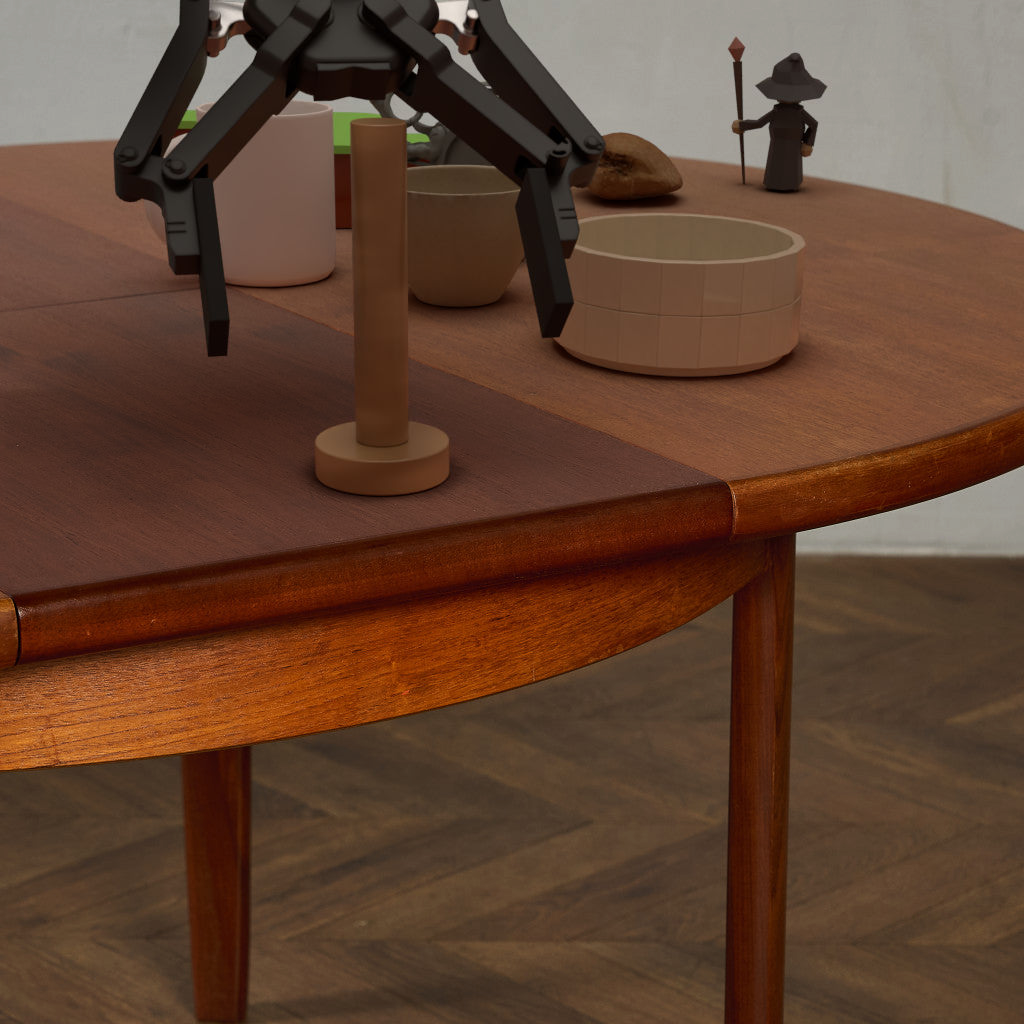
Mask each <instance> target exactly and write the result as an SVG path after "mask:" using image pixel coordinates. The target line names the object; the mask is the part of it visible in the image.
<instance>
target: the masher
mask: <svg viewBox="0 0 1024 1024" xmlns="http://www.w3.org/2000/svg"><path fill="white" fill-rule="evenodd" d="M401 119H402V118H399V119H394V118H361V119H355V120H352V121H351V122H350V150H351V205H352V228H351V236H352V237H351V249H352V250H351V252H352V259H351V260H352V303H353V305H352V306H353V307H352V308H353V310H352V311H353V313H352V314H353V361H354V366H353V367H354V413H355V414H354V415H355V417H354V418H355V421H350V422H345V423H340V424H337V425H334V426H332V427H328V428H327V429H325V430H323V431H321V432H320V433H319V434H317V436H316V437H315V440H314V463H315V464H314V467H315V471H314V472H315V476H316V478H317V480H318V481H319V482H320V483H321V484H323V485H324V486H326V487H329V488H331V489H333V490H336V491H340V492H344V493H349V494H353V495H360V496H361V495H363V496H380V497H381V496H399V495H407V494H414V493H419V492H422V491H423V492H424V491H427V490H429V489H432V488H435V487H437V486H440V485H441V484H442V483H444V482H445V481H446V480H447V479H448V477H449V476H450V439H449V436H448V434H446V432H445V431H442V430H441V429H440V428H437V427H435V426H432V425H429V424H426V423H421V422H417V421H411V420H409V418H410V417H409V414H410V413H409V411H410V410H409V405H410V404H409V284H408V242H407V133H408V128H407V123H406V121H404V120H405V119H403V120H401Z"/></svg>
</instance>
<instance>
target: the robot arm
mask: <svg viewBox="0 0 1024 1024" xmlns="http://www.w3.org/2000/svg"><path fill="white" fill-rule="evenodd" d="M178 15H179V17H178V19H179V20H178V26H177V28H176V30H175V32H174V34H173V35H172V37H171V40H170V41H169V43H168V45H167V47H166V49H165V51H164V53H163V54H162V57H161V59H160V60H159V62H158V65H157V66H156V68H155V70H154V72H153V74H152V76H151V78H150V80H149V81H148V83H147V84H146V85H147V86H146V87H145V89H144V90H143V93H142V94H141V97H140V99H139V101H138V103H137V104H136V107H135V109H134V110H133V113H132V114H131V117H130V118H129V120H128V122H127V124H126V126H125V128H124V129H123V132H122V134H121V135H120V137H119V138H118V141H117V143H116V145H115V147H114V149H113V154H112V155H113V178H114V179H113V180H114V191H115V195H116V197H117V198H118V199H119V200H121V201H123V202H125V203H126V202H127V203H136V202H137V203H138V201H140V200H144V199H145V200H148V201H151V202H154V203H155V204H157V205H158V206H159V207H160V208H161V210H162V216H163V218H164V224H165V233H166V242H167V245H166V251H167V259H168V266H169V268H170V269H171V271H172V273H173V275H174V276H193V275H194V276H195V275H198V282H199V283H198V285H199V291H200V302H201V308H202V317H203V318H202V319H203V326H204V327H203V328H204V334H205V335H204V336H205V343H206V344H205V345H206V351H207V358H215V357H228V350H229V338H230V337H229V336H230V322H231V321H230V320H231V318H230V311H229V303H228V295H227V294H228V293H227V287H226V286H227V285H226V283H225V277H224V269H223V261H222V253H221V244H220V236H219V228H218V220H217V212H216V204H215V195H214V187H213V182H214V181H215V180H216V179H217V177H218V176H219V175H220V174H221V173H222V172H223V171H224V169H225V168H226V167H227V166H228V165H229V164H230V163H231V162H232V160H233V159H234V158H235V157H236V156H237V155H238V154H239V152H240V151H241V150H242V149H243V148H244V147H245V146H246V145H247V143H248V142H249V141H250V140H251V139H252V138H253V137H254V135H255V134H256V133H257V132H258V131H259V130H260V129H261V128H262V126H263V125H264V124H265V123H266V122H267V121H268V120H269V118H270V117H271V116H272V115H276V116H277V115H278V114H280V113H281V111H282V110H283V109H284V108H285V107H286V106H287V105H288V104H289V102H290V101H291V100H294V98H295V97H296V96H297V95H298V94H299V92H301V93H303V94H305V95H309V96H312V99H313V100H312V101H313V102H333V101H338V100H341V99H346V98H354V99H358V100H364V101H369V100H385V98H386V94H389V93H392V92H393V93H394V95H395V96H396V97H397V98H398V99H400V100H401V101H402V102H404V103H405V104H406V105H407V106H408V107H410V108H411V109H412V110H413V111H415V112H419V113H422V112H427V113H426V114H429V116H431V117H433V118H434V119H435V120H436V121H437V122H440V123H441V124H443V125H444V126H445V127H446V128H448V129H449V130H450V131H451V132H452V133H454V134H455V135H456V136H457V137H459V138H460V139H461V140H462V141H464V142H465V143H466V144H467V145H468V146H470V147H471V148H472V149H473V150H475V151H476V152H477V153H478V154H480V155H481V156H482V157H483V158H484V159H486V160H487V161H488V162H489V163H491V164H492V165H493V166H494V167H496V168H497V169H498V170H499V171H501V172H502V173H503V174H504V175H505V176H507V177H508V178H509V179H510V180H512V181H513V182H514V183H515V184H517V185H518V186H519V187H520V188H521V190H520V193H519V196H518V199H517V202H516V205H515V210H516V214H517V219H518V224H519V229H520V234H521V239H522V244H523V248H524V253H525V258H524V259H525V262H526V267H527V272H528V273H527V274H528V276H529V277H528V278H529V282H530V287H531V291H532V296H533V301H534V306H535V311H536V317H537V320H538V324H539V325H538V326H539V330H540V335H541V339H553V338H557V337H560V335H561V333H562V330H563V328H564V326H565V323H566V321H567V319H568V316H569V314H570V312H571V309H572V307H573V305H574V300H573V295H572V290H571V286H570V281H569V277H568V272H567V267H566V263H565V259H570V257H571V255H572V252H573V250H574V248H575V245H576V243H577V240H578V236H579V231H580V228H579V223H578V220H579V219H578V214H577V211H576V206H575V205H576V204H575V202H574V197H573V192H572V188H573V187H574V188H577V189H585V188H588V186H589V185H590V184H591V182H592V180H593V177H594V175H595V173H596V170H597V167H598V165H599V162H600V160H601V157H602V155H603V152H604V149H605V147H606V143H605V140H604V138H603V137H602V136H603V135H602V134H601V133H600V132H599V131H598V130H597V129H596V127H595V125H594V124H593V123H592V122H591V121H590V120H589V118H588V117H587V116H586V115H585V113H584V112H583V111H582V110H581V109H580V107H578V105H577V104H576V103H575V102H574V101H573V99H572V98H571V96H569V94H568V93H567V92H566V90H564V89H563V87H562V86H561V85H560V84H559V83H558V81H557V80H556V79H555V78H554V76H553V75H552V74H551V73H550V71H549V70H548V69H547V68H546V67H545V65H544V64H543V63H542V62H541V61H540V60H539V58H538V57H537V55H535V54H534V52H533V51H532V49H530V47H529V46H528V45H527V44H526V42H524V40H523V39H522V38H521V37H520V35H519V34H518V33H517V31H515V29H514V28H513V27H512V26H511V24H510V23H509V21H508V18H507V16H506V12H505V10H504V7H503V5H502V2H501V0H443V1H436V0H244V1H232V0H179V14H178ZM436 35H445V36H446V37H449V38H450V39H451V40H452V41H453V42H454V44H455V45H456V46H457V52H458V53H459V55H461V56H468V55H469V56H470V59H471V61H472V63H473V65H474V67H475V68H476V70H477V71H478V73H479V74H480V75H481V77H482V78H483V79H484V82H487V83H488V84H489V85H490V86H489V88H492V89H493V90H494V92H495V93H496V94H497V95H496V94H494V93H493V92H492V91H491V90H489V89H488V86H484V85H483V84H482V83H481V82H482V81H479V80H478V79H477V78H476V77H475V76H473V75H472V74H471V73H470V72H468V71H467V70H466V69H464V67H462V66H461V65H459V64H458V63H457V62H456V61H455V60H454V58H453V56H452V54H451V50H450V49H449V47H448V46H447V45H446V44H445V43H444V42H442V41H441V40H440V39H439V38H437V37H436ZM235 36H243V38H244V40H245V41H246V43H247V44H248V46H249V47H251V48H252V49H253V50H254V51H255V52H256V53H255V54H254V58H253V60H252V62H251V63H250V65H248V66H247V67H246V69H245V70H244V71H243V72H242V73H241V74H240V75H239V76H238V77H237V78H236V80H235V81H233V83H232V84H231V85H230V86H229V87H228V88H227V90H226V91H224V93H223V94H222V95H221V96H220V97H219V98H218V99H217V100H216V101H215V102H216V103H215V104H214V105H213V106H212V107H211V108H210V109H209V111H208V112H207V113H206V114H205V115H204V116H203V117H202V118H201V119H200V120H199V121H198V123H197V124H196V125H195V126H194V127H193V128H192V129H191V130H190V131H189V132H188V134H187V135H186V136H185V137H184V138H183V139H182V140H181V141H180V142H179V143H178V144H177V146H176V147H175V148H174V149H173V150H172V151H171V152H170V153H169V154H168V155H167V157H166V158H163V157H164V155H165V153H166V151H167V149H168V147H169V145H170V143H171V141H172V139H173V137H174V135H175V133H176V131H177V129H178V127H179V125H180V123H181V121H182V119H183V117H184V115H185V113H186V111H187V110H189V106H190V105H191V103H192V101H193V99H194V97H195V95H196V94H197V93H196V92H197V91H198V89H199V87H200V85H201V83H202V81H203V78H204V76H205V73H206V69H207V66H208V58H211V59H213V58H217V57H219V56H220V52H222V51H224V50H225V49H226V48H227V45H228V42H229V40H230V39H231V38H234V37H235ZM416 67H417V71H416V72H414V69H415V68H416Z"/></svg>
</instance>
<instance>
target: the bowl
mask: <svg viewBox="0 0 1024 1024" xmlns="http://www.w3.org/2000/svg"><path fill="white" fill-rule="evenodd" d="M578 223H579V228H580V231H579V236H578V240H577V243H576V245H575V248H574V250H573V252H572V255H571V257H570V259H565V263H566V267H567V272H568V277H569V281H570V286H571V290H572V295H573V300H574V305H573V307H572V309H571V312H570V314H569V316H568V319H567V321H566V323H565V326H564V328H563V330H562V333H561V335H560V337H557V338H552V339H553V340H554V341H555V342H557V343H558V344H559V346H561V347H563V349H564V350H565V351H566V352H567V353H568V354H569V355H571V356H573V357H574V358H577V359H578V360H580V361H583V362H585V363H588V364H591V365H593V366H594V365H595V366H598V367H602V368H605V369H608V370H609V369H610V370H614V371H619V372H624V373H632V374H640V375H648V376H660V377H679V378H682V377H683V378H685V377H686V378H688V377H689V378H698V377H699V378H701V377H718V376H719V377H720V376H730V375H736V374H737V375H738V374H742V373H743V374H744V373H748V372H753V371H757V370H761V369H764V368H766V367H770V366H773V365H774V364H776V363H777V362H778V361H780V360H781V359H782V358H783V357H784V356H786V355H788V354H790V353H791V352H792V351H793V349H794V348H795V347H796V346H797V345H798V344H799V334H800V322H801V311H802V300H803V299H802V298H803V287H804V285H803V284H804V275H805V262H806V251H807V250H806V249H807V244H806V242H805V240H804V238H803V236H802V235H800V234H799V233H796V232H794V231H792V230H789V229H787V228H785V227H782V226H778V225H774V224H770V223H767V222H763V221H757V220H751V219H744V218H738V217H732V216H723V215H713V214H712V215H711V214H700V213H684V212H683V213H681V212H680V213H679V212H678V213H677V212H638V213H635V212H634V213H617V214H607V215H598V216H590V217H585V218H581V219H578Z"/></svg>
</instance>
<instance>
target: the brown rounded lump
mask: <svg viewBox="0 0 1024 1024" xmlns="http://www.w3.org/2000/svg"><path fill="white" fill-rule="evenodd" d="M601 136H602V137H603V138H604V140H605V143H606V147H605V149H604V152H603V155H602V157H601V160H600V162H599V165H598V167H597V170H596V173H595V175H594V177H593V180H592V182H591V184H590V185H589V186H588V187H587V188H588V189H589V190H590V191H591V192H592V193H593V194H594V195H595V196H597V197H599V198H601V199H605V200H610V201H611V200H612V201H632V200H639V199H645V198H652V197H659V196H663V195H667V194H671V193H673V192H677V191H678V190H681V189H682V187H683V184H684V180H683V177H682V175H681V173H680V172H679V170H678V168H677V167H676V165H675V163H673V161H672V160H671V159H670V158H669V156H668V155H667V153H665V152H664V151H662V150H661V149H660V148H659V147H658V146H657V145H655V144H654V143H652V142H651V141H649V140H647V139H645V138H643V137H641V136H639V135H636V134H633V133H629V132H623V131H622V132H621V131H619V132H610V133H607V134H603V135H601Z"/></svg>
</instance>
